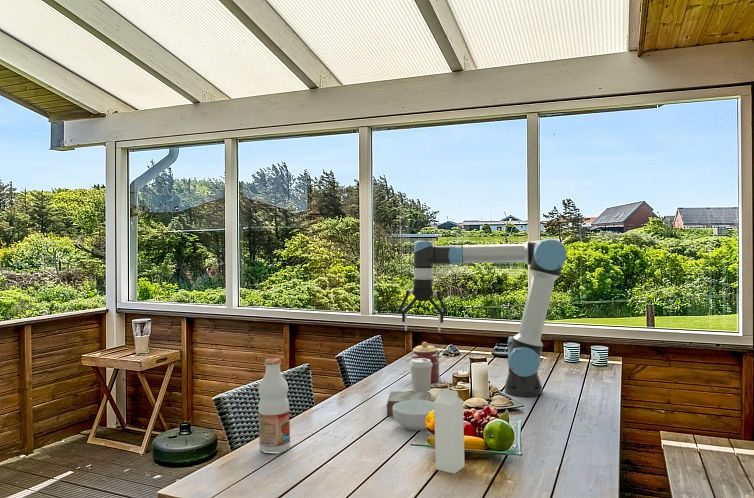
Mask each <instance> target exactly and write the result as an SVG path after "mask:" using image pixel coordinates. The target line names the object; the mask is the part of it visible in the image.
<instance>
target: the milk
mask: <svg viewBox="0 0 754 498" xmlns="http://www.w3.org/2000/svg"><path fill="white" fill-rule="evenodd" d="M433 402H434V419H435V425H434V445H435V446H434V447H435V451H434V453H435V470H437V471H438V470H439V471H441V472H445V473H449V474H452V475H453V474H454V475H455V474H457V473H458V472H459V471H461V470H462V469H464V468H465V464H466V463H465V436H464V435H465V434H464V433H465V431H464V429H465V425H464V399H462V398H461V397H459V393H458V390H454V389H446V388H438V395H437V396H436V398H435V399H434V401H433Z"/></svg>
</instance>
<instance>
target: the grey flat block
mask: <svg viewBox="0 0 754 498" xmlns="http://www.w3.org/2000/svg"><path fill="white" fill-rule="evenodd" d="M406 400H426V401H431V402H432V393H431V391H430V392H413V391H390V393H389V395H388V399H387V402H386V415H387V417H388V416H389V417H390V416H392V417H394V416H393V409H392V408H393V405H394V404H396V403H398V402H401V401H406Z"/></svg>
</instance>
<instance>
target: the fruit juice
mask: <svg viewBox="0 0 754 498" xmlns="http://www.w3.org/2000/svg"><path fill="white" fill-rule="evenodd" d="M281 362H282V361H281V358H276V357H275V358H273V357H272V358H265V360H264V366H265V372H264V376H263V378H262V379H261V381H260V383H259V384H258V394H259V402H258V426H259V427H258V431H259V432H258V433H259V435H258V436H259V437H258V438H259V450H260V449H261V450H263V451H266V452H282V451H285V450H287V449H288V448H289V447H290V448H291V426H290V425H291V424H290V422H291V421H290V404H289V403H290V401H289V399H288V391H289V385H288V382H287V380H286V379H285V378H284V377H283V375H282V371H281ZM290 448H289V449H290ZM289 449H288V450H289ZM261 450H260V451H261ZM288 450H287V451H288ZM285 452H286V451H285ZM282 453H283V452H282Z"/></svg>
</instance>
